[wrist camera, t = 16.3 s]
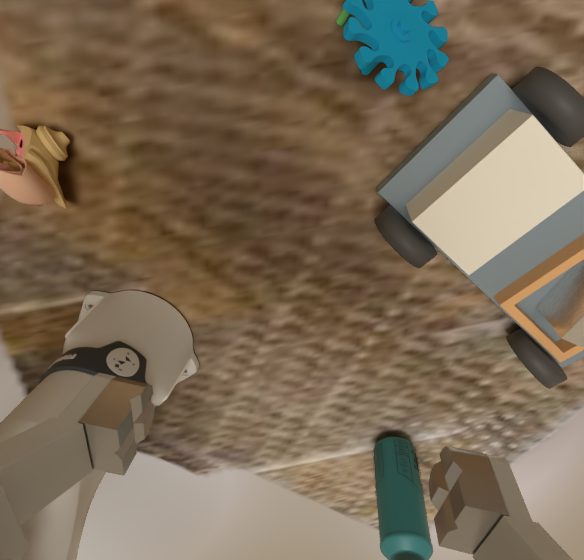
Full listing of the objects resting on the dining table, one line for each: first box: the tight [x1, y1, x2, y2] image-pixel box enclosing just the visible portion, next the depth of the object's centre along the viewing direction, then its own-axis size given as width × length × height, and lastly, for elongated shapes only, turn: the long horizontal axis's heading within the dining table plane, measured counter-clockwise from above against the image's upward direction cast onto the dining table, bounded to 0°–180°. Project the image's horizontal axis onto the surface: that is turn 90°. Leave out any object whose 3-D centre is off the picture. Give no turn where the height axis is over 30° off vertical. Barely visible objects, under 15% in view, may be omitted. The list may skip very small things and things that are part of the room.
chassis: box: [375, 67, 584, 389], centre depth 38 cm, size 18×32×7 cm, turn 50°
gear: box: [336, 0, 449, 96], centre depth 32 cm, size 11×6×10 cm
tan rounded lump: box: [0, 125, 70, 209], centre depth 42 cm, size 9×10×10 cm
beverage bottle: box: [373, 437, 433, 560], centre depth 51 cm, size 6×7×20 cm
